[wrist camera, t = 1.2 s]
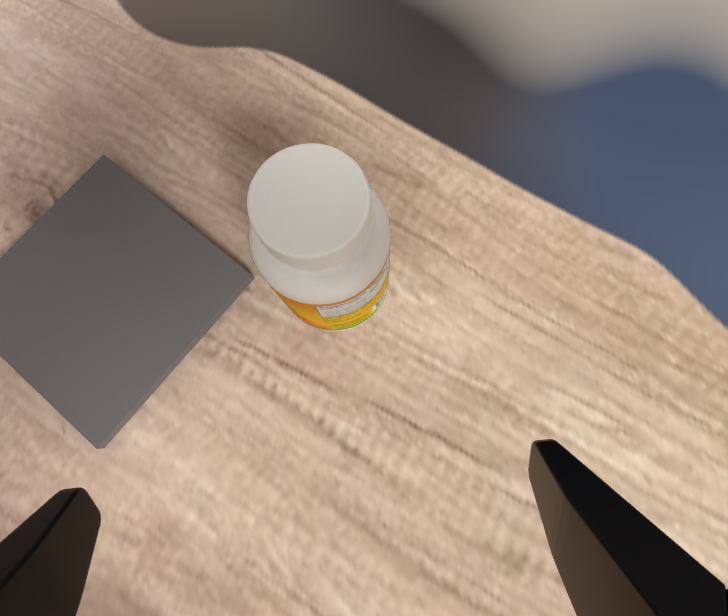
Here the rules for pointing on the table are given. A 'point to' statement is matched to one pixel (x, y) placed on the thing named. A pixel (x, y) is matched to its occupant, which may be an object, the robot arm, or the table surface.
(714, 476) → the table surface
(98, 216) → the coaster mat
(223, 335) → the table surface
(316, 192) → the supplement bottle
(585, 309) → the table surface
